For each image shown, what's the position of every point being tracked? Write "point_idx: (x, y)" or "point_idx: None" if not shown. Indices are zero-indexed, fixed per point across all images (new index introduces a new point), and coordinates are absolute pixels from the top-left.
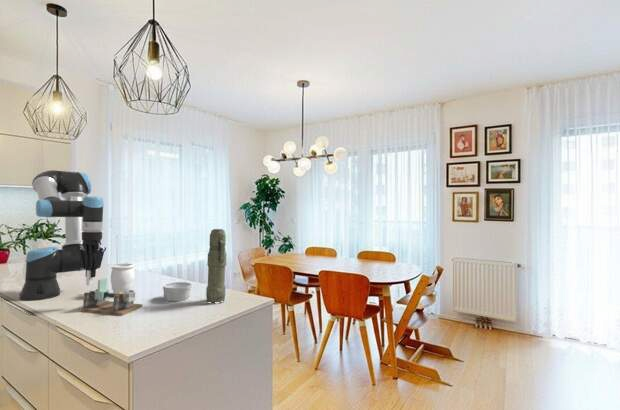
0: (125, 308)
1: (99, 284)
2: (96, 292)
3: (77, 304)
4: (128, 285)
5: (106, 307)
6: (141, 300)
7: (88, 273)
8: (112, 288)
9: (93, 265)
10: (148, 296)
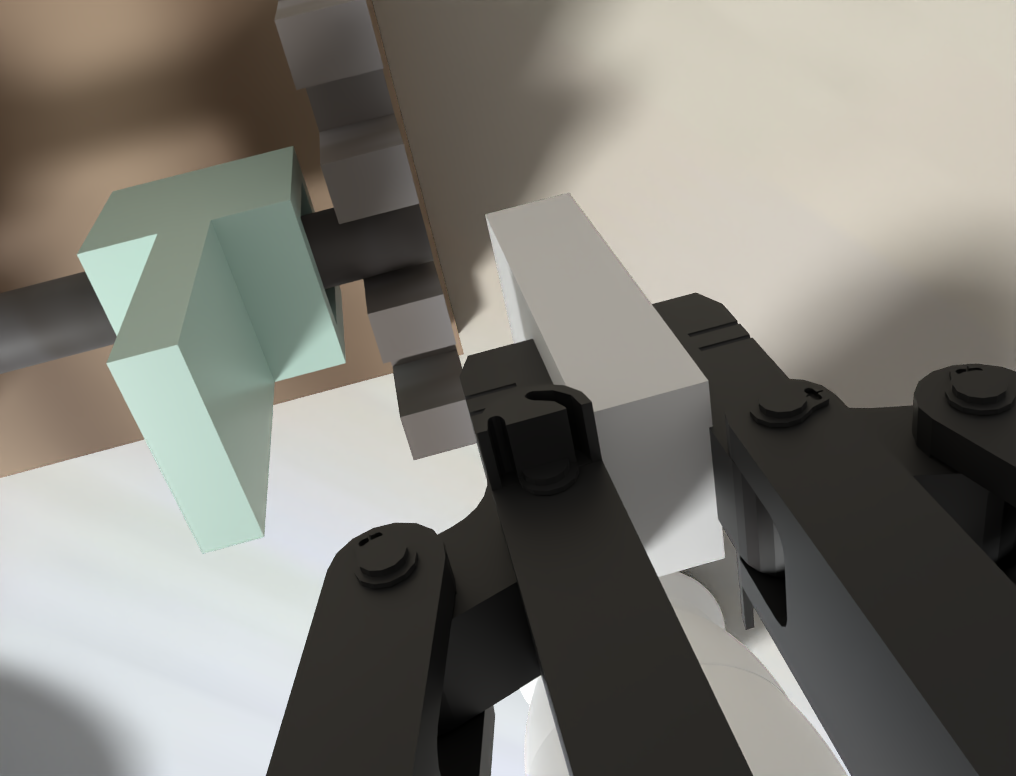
0: None
1: (142, 298)
2: (241, 202)
3: (752, 122)
4: (525, 770)
5: (45, 173)
6: (156, 647)
7: (592, 346)
8: (697, 630)
9: (530, 631)
10: (262, 758)
